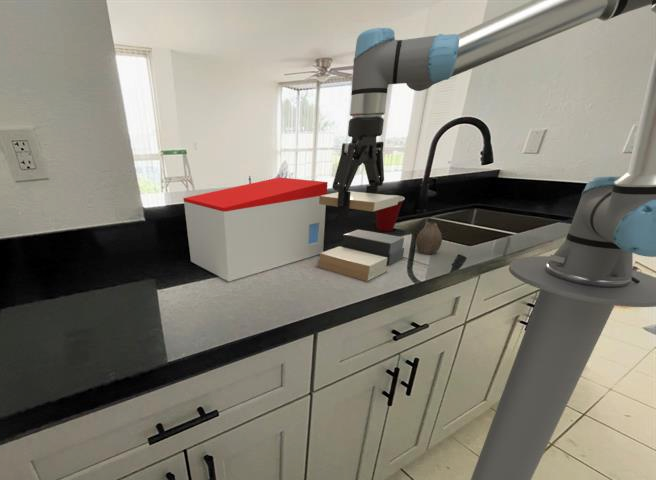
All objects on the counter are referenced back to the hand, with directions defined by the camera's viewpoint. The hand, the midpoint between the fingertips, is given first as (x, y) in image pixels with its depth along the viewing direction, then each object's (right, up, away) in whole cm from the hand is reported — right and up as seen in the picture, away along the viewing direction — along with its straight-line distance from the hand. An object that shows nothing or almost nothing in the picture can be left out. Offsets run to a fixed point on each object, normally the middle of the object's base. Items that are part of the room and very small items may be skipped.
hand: (356, 215), depth 84 cm
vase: (+27, -7, +17) cm, 32 cm away
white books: (0, -13, +6) cm, 14 cm away
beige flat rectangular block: (0, +3, -1) cm, 3 cm away
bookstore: (-24, -8, +17) cm, 31 cm away
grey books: (+9, -8, +16) cm, 20 cm away
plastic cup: (+24, +5, +43) cm, 49 cm away
